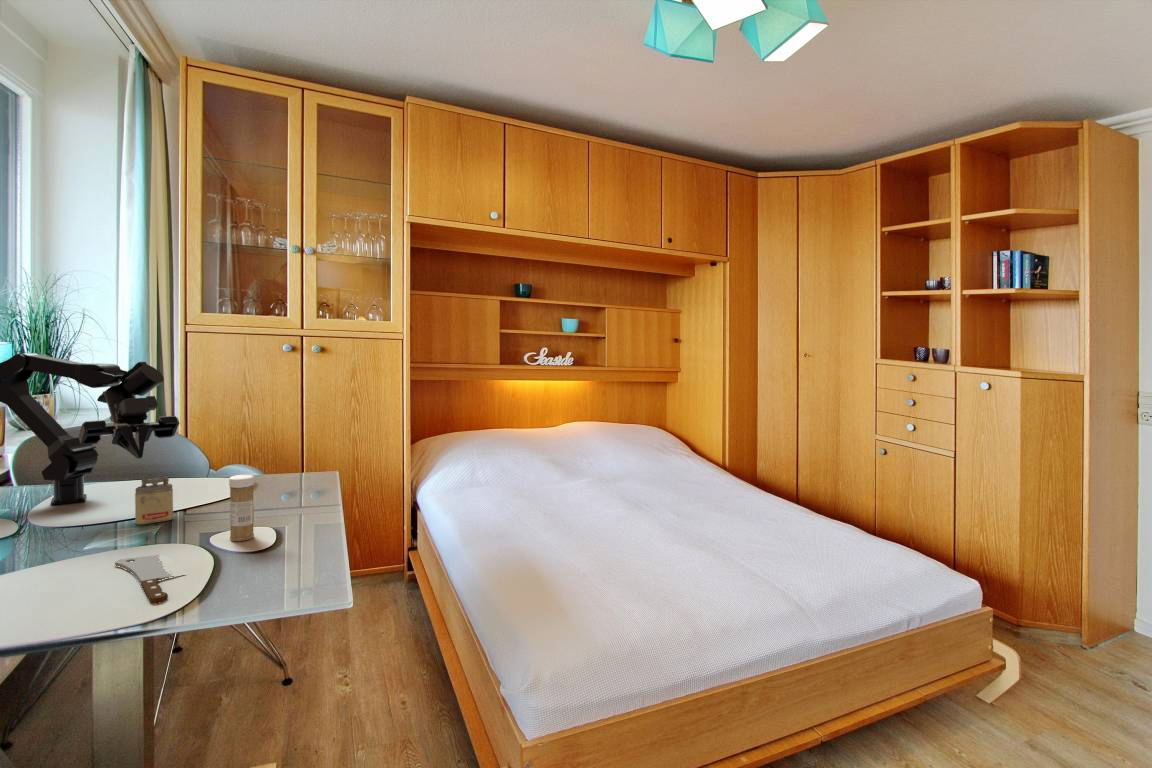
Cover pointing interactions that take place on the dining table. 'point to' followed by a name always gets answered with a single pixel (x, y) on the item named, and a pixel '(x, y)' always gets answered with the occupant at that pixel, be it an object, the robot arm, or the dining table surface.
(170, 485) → the beige handled case
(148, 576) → the kitchen cleaver
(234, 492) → the sprinkles bottle
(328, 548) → the dining table surface
